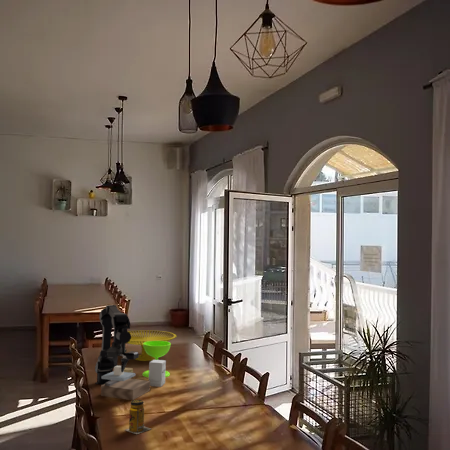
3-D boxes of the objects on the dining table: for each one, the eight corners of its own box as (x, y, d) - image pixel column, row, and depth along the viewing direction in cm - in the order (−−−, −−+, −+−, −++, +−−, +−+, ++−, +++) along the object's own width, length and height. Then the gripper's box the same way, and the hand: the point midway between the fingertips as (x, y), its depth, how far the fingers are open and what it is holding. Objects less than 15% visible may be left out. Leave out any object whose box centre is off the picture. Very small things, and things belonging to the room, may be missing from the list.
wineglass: (136, 376, 316) (137, 344, 317) (150, 370, 331) (151, 339, 332) (161, 379, 310) (162, 347, 311) (174, 373, 325) (175, 342, 325)
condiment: (124, 430, 229) (125, 401, 230) (140, 425, 236) (140, 396, 236) (136, 434, 225) (137, 405, 225) (151, 429, 231) (152, 400, 231)
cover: (101, 378, 268) (101, 367, 268) (114, 373, 279) (114, 362, 279) (123, 381, 264) (123, 370, 264) (135, 375, 275) (135, 365, 275)
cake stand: (172, 366, 341) (173, 342, 341) (107, 364, 341) (108, 340, 342) (179, 352, 381) (179, 330, 381) (120, 351, 382) (121, 329, 382)
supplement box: (161, 387, 295) (162, 363, 295) (148, 385, 297) (148, 362, 297) (165, 383, 302) (166, 360, 303) (152, 382, 304) (153, 359, 304)
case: (100, 395, 277) (101, 383, 277) (119, 386, 294) (119, 374, 294) (132, 400, 271) (133, 387, 271) (149, 390, 288) (150, 378, 288)
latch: (121, 374, 293) (121, 369, 293) (125, 373, 296) (125, 367, 296) (129, 375, 291) (129, 370, 291) (132, 374, 295) (133, 368, 295)
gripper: (94, 340, 267) (93, 373, 267) (128, 343, 261) (127, 377, 261) (106, 337, 278) (105, 368, 277) (139, 340, 272) (138, 372, 271)
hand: (118, 371), depth 271 cm, fingers closed on cover, 3 cm apart
